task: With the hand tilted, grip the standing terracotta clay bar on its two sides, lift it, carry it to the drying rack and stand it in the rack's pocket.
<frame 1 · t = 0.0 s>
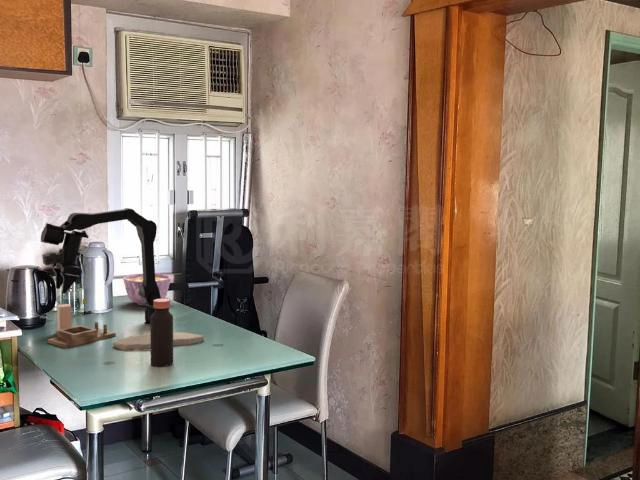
hand: (60, 290, 237), 15 cm above the table, tool pointing down, fingers open, 9 cm apart
stone tablet: (157, 343, 231), on the table
lemon: (89, 312, 273), on the table
bottle: (162, 364, 207), on the table
rack: (82, 339, 232), on the table
bowl of food: (147, 304, 290), on the table
clay bar: (64, 332, 240), on the table
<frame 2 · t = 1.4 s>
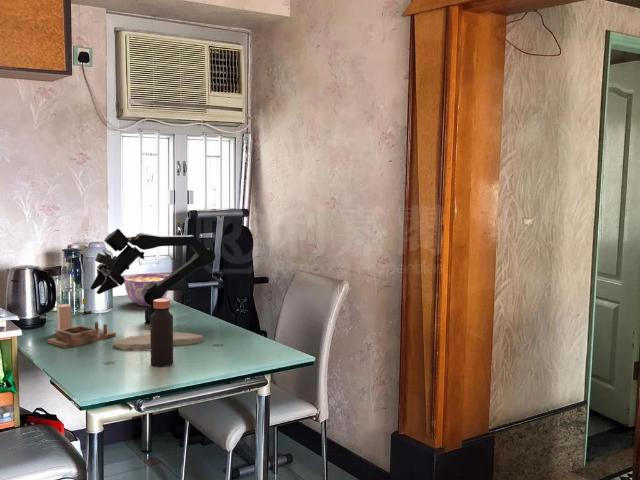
hand: (94, 291, 245), 14 cm above the table, tool tilted 45°, fingers open, 9 cm apart
nothing on the table moved.
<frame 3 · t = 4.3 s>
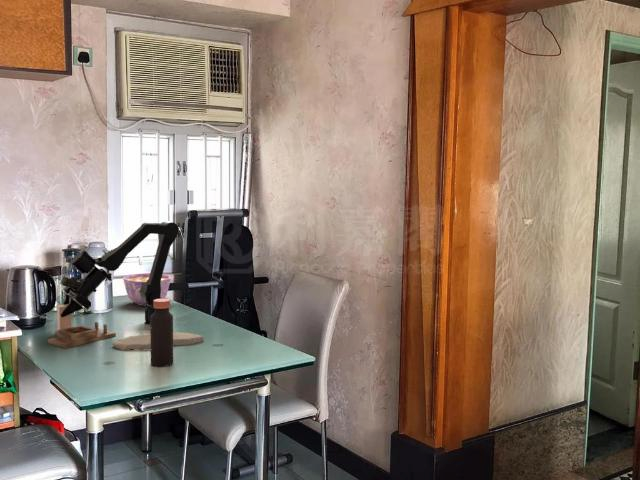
hand: (60, 315, 238), 7 cm above the table, tool tilted 45°, fingers closed on clay bar, 4 cm apart
clay bar: (64, 332, 240), on the table, touching gripper
everything else where it was.
when the fingers open (9 cm above the table, at t = 7.7 s): clay bar drops 1 cm, resting on rack.
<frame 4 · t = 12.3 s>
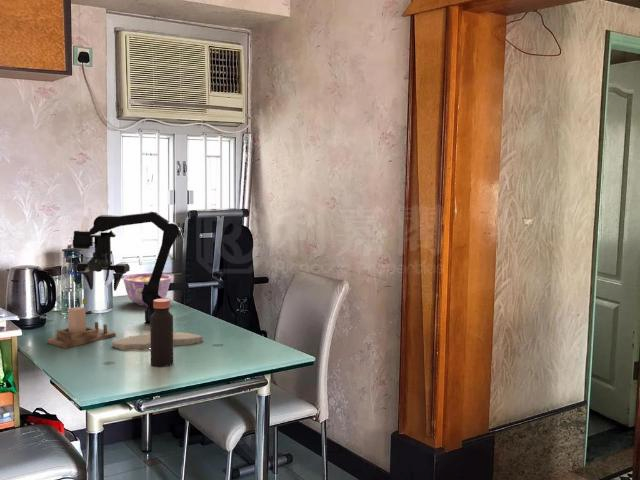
hand: (103, 290, 252), 13 cm above the table, tool pointing down, fingers open, 9 cm apart
clay bar: (77, 337, 230), point 1 cm above the table, touching rack
everything else where it was.
at the end: clay bar inside the target area (0.1 cm from its centre), point 1.2 cm above the table; clay bar tilted 0°; the gripper is holding nothing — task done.
